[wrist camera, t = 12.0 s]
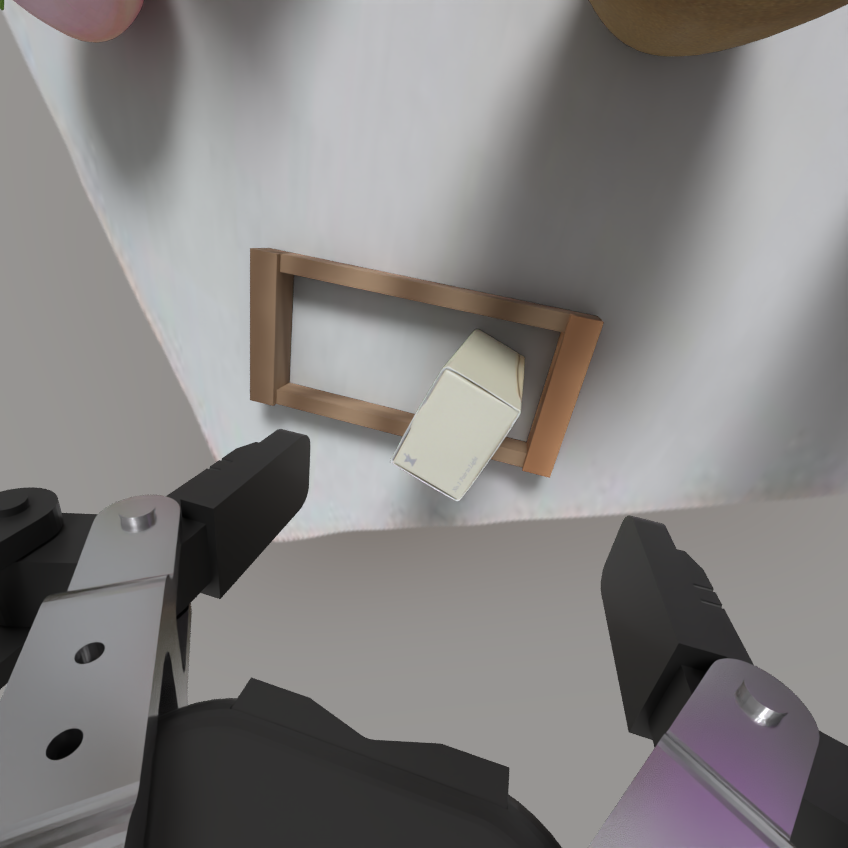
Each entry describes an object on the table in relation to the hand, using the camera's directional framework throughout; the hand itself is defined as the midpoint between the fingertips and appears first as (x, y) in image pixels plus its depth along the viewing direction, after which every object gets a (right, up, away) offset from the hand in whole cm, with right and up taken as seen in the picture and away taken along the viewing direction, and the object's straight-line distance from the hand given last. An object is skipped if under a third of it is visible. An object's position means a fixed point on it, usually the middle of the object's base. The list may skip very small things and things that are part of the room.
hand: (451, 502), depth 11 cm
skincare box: (+3, +6, +21) cm, 22 cm away
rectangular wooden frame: (-2, +7, +22) cm, 23 cm away
